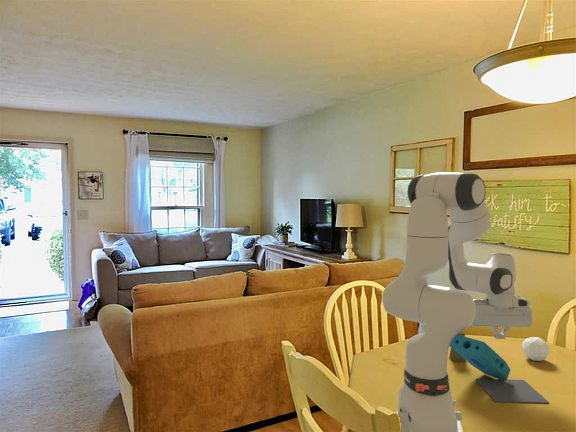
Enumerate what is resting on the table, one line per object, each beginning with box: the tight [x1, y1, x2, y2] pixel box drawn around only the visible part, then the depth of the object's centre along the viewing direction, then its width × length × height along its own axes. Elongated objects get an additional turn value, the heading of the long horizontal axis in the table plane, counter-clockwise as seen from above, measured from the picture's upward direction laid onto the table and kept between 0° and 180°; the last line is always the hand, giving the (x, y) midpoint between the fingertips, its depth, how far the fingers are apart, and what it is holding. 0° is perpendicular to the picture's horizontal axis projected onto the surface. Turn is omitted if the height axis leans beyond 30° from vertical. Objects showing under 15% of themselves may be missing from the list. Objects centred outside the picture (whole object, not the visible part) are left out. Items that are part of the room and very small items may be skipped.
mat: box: [475, 378, 550, 404], centre depth 131 cm, size 15×16×1 cm
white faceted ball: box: [521, 336, 550, 362], centre depth 157 cm, size 9×9×12 cm
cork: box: [448, 330, 467, 363], centre depth 157 cm, size 6×6×11 cm
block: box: [449, 334, 511, 381], centre depth 137 cm, size 12×5×20 cm
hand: (499, 338), depth 140 cm, fingers closed
